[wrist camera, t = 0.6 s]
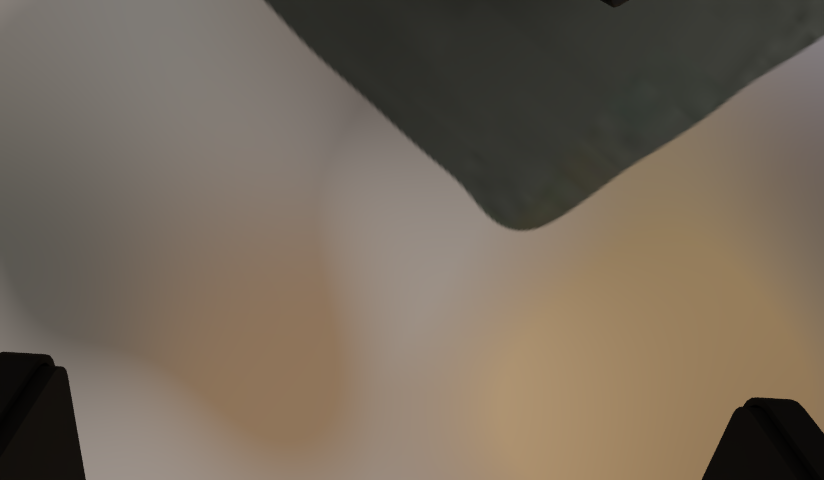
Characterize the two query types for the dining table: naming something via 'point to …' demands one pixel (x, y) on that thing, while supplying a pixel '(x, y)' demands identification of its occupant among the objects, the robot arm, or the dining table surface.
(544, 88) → the dining table surface
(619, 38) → the dining table surface
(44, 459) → the robot arm
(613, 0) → the french press
